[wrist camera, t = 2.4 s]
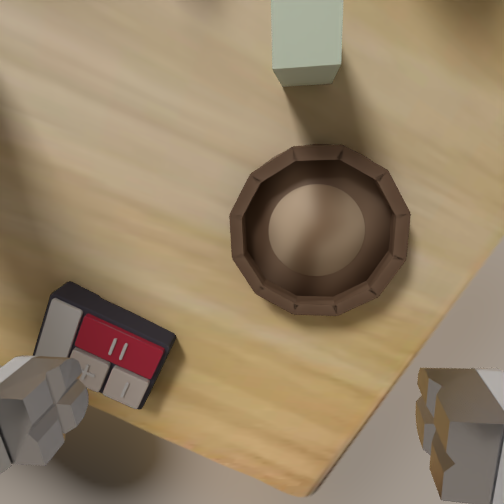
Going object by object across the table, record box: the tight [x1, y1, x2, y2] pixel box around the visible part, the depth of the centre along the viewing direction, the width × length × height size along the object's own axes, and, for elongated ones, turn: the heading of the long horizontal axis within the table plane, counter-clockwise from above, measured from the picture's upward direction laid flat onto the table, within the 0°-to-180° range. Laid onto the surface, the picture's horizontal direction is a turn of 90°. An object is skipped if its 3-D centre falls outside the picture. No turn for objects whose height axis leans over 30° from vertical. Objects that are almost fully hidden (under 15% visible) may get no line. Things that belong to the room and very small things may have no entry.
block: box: [271, 0, 343, 87], centre depth 28 cm, size 4×4×10 cm
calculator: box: [33, 281, 176, 409], centre depth 44 cm, size 11×4×15 cm
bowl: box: [229, 144, 411, 316], centre depth 36 cm, size 17×17×3 cm
